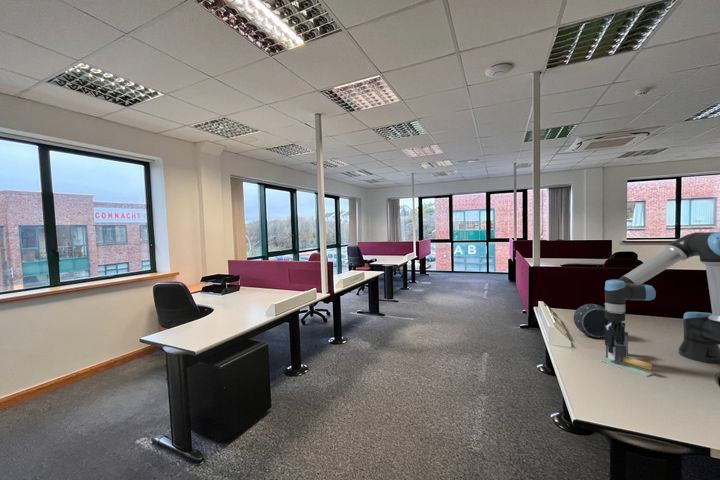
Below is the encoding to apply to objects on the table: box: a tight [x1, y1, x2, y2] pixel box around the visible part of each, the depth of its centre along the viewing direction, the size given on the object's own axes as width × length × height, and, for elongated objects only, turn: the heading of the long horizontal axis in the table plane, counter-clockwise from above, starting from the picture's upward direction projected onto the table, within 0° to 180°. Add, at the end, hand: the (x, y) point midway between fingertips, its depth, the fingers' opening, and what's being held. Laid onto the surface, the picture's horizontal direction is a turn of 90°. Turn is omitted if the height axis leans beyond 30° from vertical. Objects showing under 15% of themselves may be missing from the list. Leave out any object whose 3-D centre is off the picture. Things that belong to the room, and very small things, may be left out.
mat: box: [599, 357, 656, 378], centre depth 140 cm, size 7×18×1 cm, turn 23°
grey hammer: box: [605, 343, 653, 371], centre depth 139 cm, size 5×16×7 cm, turn 24°
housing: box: [615, 331, 629, 357], centre depth 152 cm, size 12×4×13 cm, turn 113°
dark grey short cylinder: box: [573, 303, 613, 339], centre depth 181 cm, size 11×20×20 cm, turn 78°
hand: (614, 357), depth 144 cm, fingers closed on grey hammer, 5 cm apart
